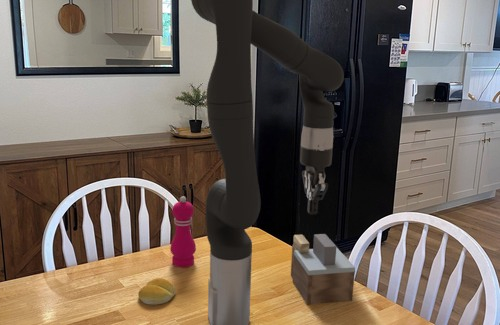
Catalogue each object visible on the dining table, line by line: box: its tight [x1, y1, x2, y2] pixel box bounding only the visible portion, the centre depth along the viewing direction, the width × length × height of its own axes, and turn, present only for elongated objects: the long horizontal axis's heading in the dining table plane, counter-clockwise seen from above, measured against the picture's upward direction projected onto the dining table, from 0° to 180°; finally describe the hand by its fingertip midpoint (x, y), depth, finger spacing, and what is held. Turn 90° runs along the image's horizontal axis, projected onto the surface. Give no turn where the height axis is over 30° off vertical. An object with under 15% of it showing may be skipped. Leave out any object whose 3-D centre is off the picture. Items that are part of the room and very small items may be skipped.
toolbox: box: [290, 244, 356, 306], centre depth 129 cm, size 12×15×9 cm
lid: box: [294, 233, 356, 275], centre depth 126 cm, size 12×12×7 cm
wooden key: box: [292, 234, 310, 253], centre depth 131 cm, size 2×6×2 cm, turn 12°
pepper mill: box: [170, 195, 197, 268], centre depth 140 cm, size 7×7×20 cm
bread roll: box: [137, 277, 176, 306], centre depth 123 cm, size 8×9×4 cm
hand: (312, 213), depth 122 cm, fingers closed
